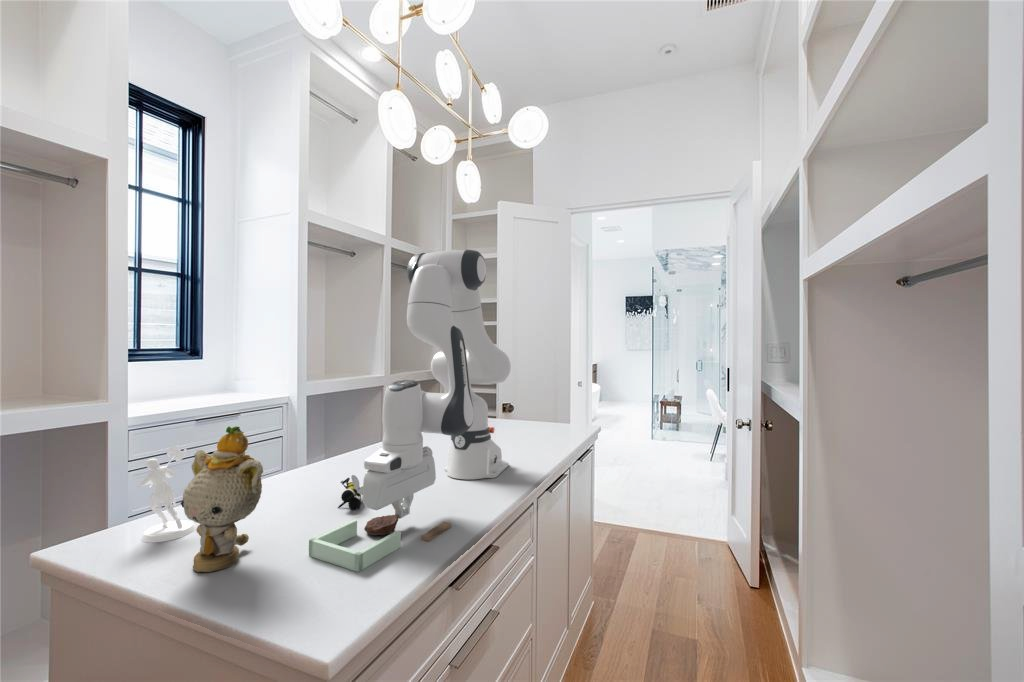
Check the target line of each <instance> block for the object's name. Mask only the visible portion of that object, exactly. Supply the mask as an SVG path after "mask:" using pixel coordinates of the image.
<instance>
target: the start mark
mask: <svg viewBox="0 0 1024 682" xmlns="http://www.w3.org/2000/svg"><path fill="white" fill-rule="evenodd" d="M451 527H452V523H451V522H447V521H442V522H441V523H440V524H438V525H436V526H434V527H433V528H431V529H430V530H428V531H426V532H424V533H423V534H421V535H420V540H423V541H426V542H429V541H431V540H433V539H435V538H436V537H438V536H439V535H441V534H442V533H444V532H446V531H447V530H448V529H450V528H451Z"/></svg>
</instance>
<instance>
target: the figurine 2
mask: <svg viewBox="0 0 1024 682" xmlns="http://www.w3.org/2000/svg"><path fill="white" fill-rule="evenodd" d="M225 432H226V434H224V435H223V436H222V437H221V438H219V440H218V441H217V445H216V446H217V447H216V448H217V449H216V450H214V451H213V452H212V454H213V455H211V454H209V453H207V452H206V451H204V450H202V449H198V450H197V451H196V452H195V453H194V455H193V457H194V460H193V462H192V464H191V470H192V473H193V475H194V476H193V477H192V479H191V480H190V481H189V483H188V485H187V486H186V487H185V488H184V490H183V493H182V501H181V502H180V505H181V507H182V508H183V511H184V514H185V516H186V517H187V519H188V520H189V521H192V522H193V523H197V524H199V525H197V526H196V529H195V531H196V533H197V534H198V536H199V537H200V539H199V540H200V541H199V542H200V548H199V551H198V552H197V553H196V554H195V556H194V557H193V565H192V569H193V570H194V571H195V572H197V573H198V572H199V573H210V572H216V571H220V570H224V569H228V568H230V567H232V566H234V565H236V564H237V563H238V562H239V560H240V558H239V557H240V556H239V553H240V549H239V548H238V546H240V547H241V546H244V545H245V544H247V543H248V541H249V538H250V537H249V535H248V534H247V533H242V534H240V535H239V534H238V528H237V526H236V524H235V523H237V522H239V521H241V520H245V519H246V518H247V517H248V516H249V515H251V514H252V513H253V512H254V511H255V509H256V508H257V505H258V504H259V502H260V499H261V495H262V493H263V489H262V488H263V483H262V474H264V468H263V465H262V463H261V461H259V460H256V459H255V458H253V457H251V456H250V455H249V454H246V451H247V449H248V448H249V440H248V436H246V434H244V431H242V430H241V428H240V426H233V427H231V426H227V428H226V430H225Z"/></svg>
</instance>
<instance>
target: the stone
mask: <svg viewBox="0 0 1024 682" xmlns="http://www.w3.org/2000/svg"><path fill="white" fill-rule="evenodd" d="M398 521H399V515H395V514H392V515H390V514H389V515H382V516H376V517H373V518H371V519H370V520H368V521H367V522H366V525H365V527H364V531H365V532H366V533H367V534H369V535H372V536H384V535H385V536H386V535H390V534H392V533H394V532H395V531H396V527H397V524H398Z"/></svg>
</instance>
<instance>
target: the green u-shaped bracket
mask: <svg viewBox="0 0 1024 682" xmlns="http://www.w3.org/2000/svg"><path fill="white" fill-rule="evenodd" d="M357 535H358V520H357V519H352V520H350V521H347V522H346V523H343V524H341V525H339V526H337V527H335V528H332V529H331V530H328V531H326V532H324V533H321V534H320V535H317V536H315V537H313V538H311V539H308V557H311V558H314V559H318V560H321V561H323V562H327V563H330V564H333V565H336V566H339V567H342V568H345V569H348V570H351V571H354V572H357V573H359V572H361V571H363V570H365V569H366V568H368V567H369V566H371V565H372V564H375V563H376V562H378V561H379V560H381V559H382V558H384V557H387V556H388V555H389V554H391V553H392V552H394V551H396V550H398V549H399V548H401V546H402V544H401V543H402V542H401V541H402V539H401V537H402V533H401V531H399V530H394V533H389V534H387V536H386V535H385V536H384V537H383V538H380V539H379V540H377V541H375V542H374V543H372V544H370V545H368V546H366V547H365V548H363V549H361V550H360V551H358V550H355V549H351V548H348V547H345V546H341V545H339V544H342V543H344V542H346V541H347V540H349V539H351V538H353V537H355V536H357Z"/></svg>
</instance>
